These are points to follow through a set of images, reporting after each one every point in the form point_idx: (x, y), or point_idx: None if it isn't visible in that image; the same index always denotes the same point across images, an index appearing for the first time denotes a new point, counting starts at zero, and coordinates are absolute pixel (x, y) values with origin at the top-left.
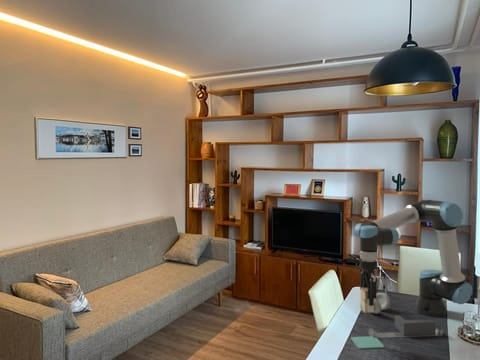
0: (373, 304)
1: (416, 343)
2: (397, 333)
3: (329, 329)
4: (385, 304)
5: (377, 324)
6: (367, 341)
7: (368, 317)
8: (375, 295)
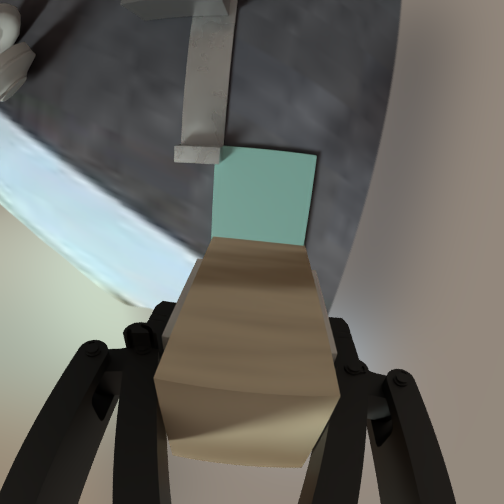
0: (324, 309)
1: (302, 4)
2: (203, 31)
3: (135, 293)
4: (8, 23)
5: (103, 82)
6: (258, 205)
7: (47, 100)
8: (417, 406)
